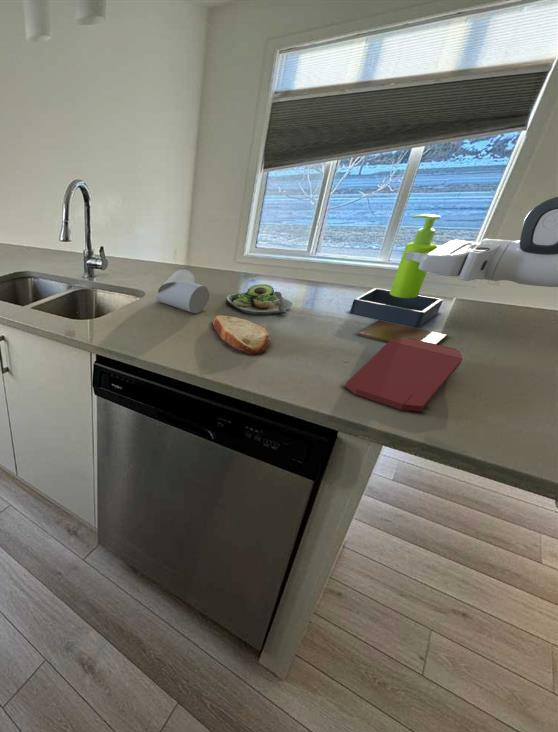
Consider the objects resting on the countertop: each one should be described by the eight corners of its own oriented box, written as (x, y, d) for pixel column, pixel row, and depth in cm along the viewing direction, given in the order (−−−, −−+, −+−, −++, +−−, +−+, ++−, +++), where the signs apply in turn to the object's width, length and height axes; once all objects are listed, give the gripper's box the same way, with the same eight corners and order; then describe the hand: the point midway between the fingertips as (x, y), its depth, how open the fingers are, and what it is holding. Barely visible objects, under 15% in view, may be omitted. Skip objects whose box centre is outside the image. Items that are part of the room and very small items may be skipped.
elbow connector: (138, 298, 135) (183, 314, 120) (144, 266, 131) (192, 278, 116) (174, 297, 144) (221, 312, 129) (181, 267, 140) (230, 279, 124)
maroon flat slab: (410, 429, 74) (462, 367, 84) (419, 409, 72) (471, 347, 81) (338, 403, 83) (392, 349, 93) (343, 384, 80) (399, 331, 90)
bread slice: (218, 319, 117) (220, 307, 116) (285, 333, 106) (288, 319, 104) (188, 340, 107) (189, 327, 105) (258, 358, 95) (261, 343, 94)
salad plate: (310, 314, 115) (314, 299, 112) (249, 321, 114) (252, 305, 112) (272, 294, 132) (275, 280, 129) (219, 300, 131) (221, 286, 129)
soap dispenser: (395, 289, 112) (422, 212, 102) (423, 295, 106) (454, 214, 96) (380, 292, 111) (405, 215, 101) (406, 299, 105) (437, 217, 95)
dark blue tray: (437, 313, 109) (443, 299, 107) (418, 327, 102) (424, 312, 100) (370, 300, 120) (375, 287, 118) (349, 312, 114) (353, 299, 112)
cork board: (446, 337, 97) (447, 334, 97) (427, 352, 91) (428, 350, 91) (378, 322, 107) (379, 319, 107) (358, 335, 102) (358, 332, 101)
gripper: (504, 236, 97) (431, 232, 107) (477, 254, 87) (399, 247, 97) (492, 263, 100) (422, 256, 110) (464, 282, 90) (391, 273, 101)
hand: (411, 252), depth 104 cm, fingers closed on soap dispenser, 6 cm apart
